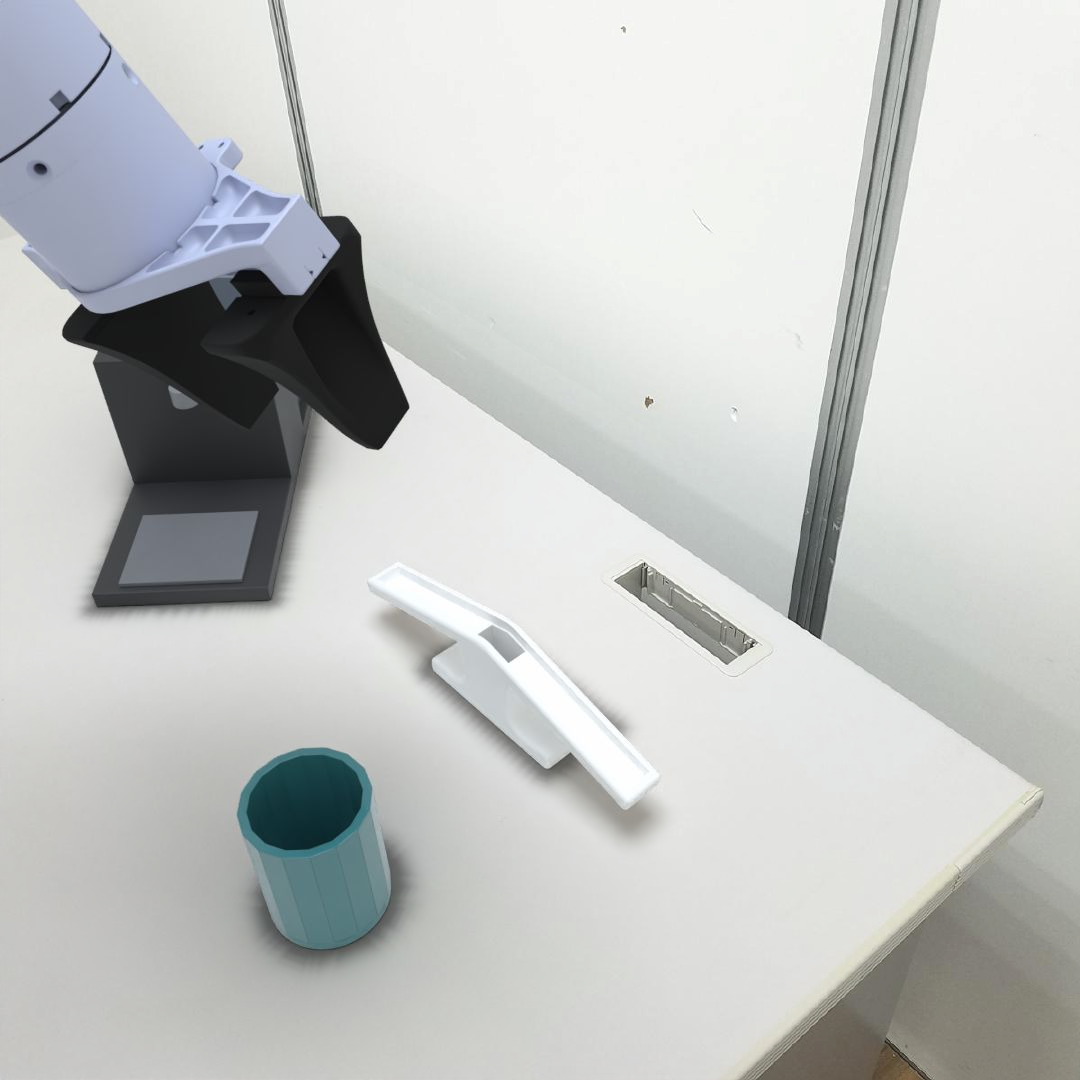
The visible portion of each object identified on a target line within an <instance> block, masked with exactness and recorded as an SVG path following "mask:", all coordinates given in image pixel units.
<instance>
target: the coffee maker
mask: <svg viewBox="0 0 1080 1080" xmlns="http://www.w3.org/2000/svg"><path fill="white" fill-rule="evenodd" d="M231 279H232V278H215V279H212V280H209V282H210V284H211V286H212V288H213V290H214V292H215V294H216V295H217V297H218V299H219V301H220V302H221V304H222V305H223V307H224V309H225V310H227V308H228V307H229V306H230V304H231V303H232V302H233V301H234V299H235V298H236V297H241V296H242V295H241V294H240V293H239V292H238V291H237V290H236V289H235V288H234V286H233V285H232V284H231V283H230V281H231ZM92 366H93V368H94V371H95V374H96V377H97V380H98V383H99V386H100V388H101V391H102V395H103V398H104V401H105V404H106V407H107V409H108V412H109V415H110V419H111V421H112V424H113V427H114V429H115V433H116V435H117V439H118V441H119V446H120V447H121V450H122V453H123V456H124V460H125V462H126V465H127V468H128V471H129V474H130V477H131V480H132V482H133V485H132V487H131V490H130V493H129V496H128V498H127V501H126V504H125V506H124V509H123V511H122V514H121V516H120V519H119V521H118V524H117V526H116V529H115V532H114V534H113V538H112V540H111V543H110V545H109V548H108V550H107V553H106V556H105V558H104V561H103V564H102V566H101V569H100V571H99V574H98V576H97V580H96V582H95V585H94V587H93V590H92V593H91V597H92V599H93V602H94V605H95V606H96V607H117V606H118V607H119V606H142V605H143V606H144V605H146V606H147V605H170V604H194V603H196V604H197V603H219V602H220V603H221V602H222V603H223V602H244V601H245V602H246V601H270V600H271V599H272V595H273V591H274V585H275V581H276V577H277V572H278V567H279V562H280V558H281V554H282V548H283V544H284V539H285V534H286V531H287V525H288V521H289V515H290V511H291V506H292V503H293V502H292V501H293V496H294V493H295V489H296V485H297V480H298V479H297V478H298V473H299V469H300V464H301V460H302V455H303V450H304V446H305V441H306V436H307V431H308V428H309V427H308V426H309V422H310V418H311V417H310V416H311V412H312V408H311V407H310V406H309V405H308V404H307V403H305V402H304V401H303V400H302V399H300V398H299V397H298V396H296V395H295V394H294V393H292V392H291V391H289V390H288V389H286V388H285V387H283V386H282V385H280V384H279V383H277V382H276V384H277V386H278V388H279V391H278V392H277V394H276V395H275V396H274V398H273V399H272V400H271V402H270V403H269V404H268V406H267V407H266V408H265V410H264V411H263V412H262V414H261V415H260V416H259V418H258V419H257V421H256V422H255V423H254V425H253V426H252V427H251V429H244V428H240V427H237V426H235V425H233V424H231V423H229V422H228V421H226V420H224V419H222V418H221V417H219V416H217V415H215V414H214V413H212V412H211V411H209V410H207V409H206V408H204V407H203V406H201V405H200V404H198V403H196V402H195V401H193V400H192V399H190V398H189V397H187V396H186V395H184V394H182V393H181V392H179V391H178V390H176V389H175V388H173V387H171V386H170V385H168V384H166V383H165V382H163V381H161V380H160V379H158V378H156V377H154V376H152V375H150V374H149V373H147V372H145V371H143V370H141V369H139V368H137V367H135V366H133V365H131V364H128V363H126V362H124V361H122V360H119V359H117V358H114V357H112V356H109V355H107V354H104V353H101V352H99V351H96V354H95V356H94V358H93V360H92Z"/></svg>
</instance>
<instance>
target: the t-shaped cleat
mask: <svg viewBox="0 0 1080 1080" xmlns="http://www.w3.org/2000/svg"><path fill="white" fill-rule="evenodd" d="M366 584H367V587H368V590H369V592H370V593H371V594H373V595H375V596H377V597H378V598H380V599H381V600H383V601H385V602H387V603H388V604H391V605H392V606H394V607H396V608H397V609H400V610H401V611H403V612H405V614H408V615H410V616H411V617H413V618H415V619H417V620H419V621H420V622H422V623H424V624H426V625H428V626H429V627H431V628H433V629H434V630H437V631H438V632H440V633H441V634H444V635H445V636H447V637H449V638H450V639H452V640H454V641H456V642H455V643H454V644H452V645H451V646H449V647H447V648H446V649H445V650H443V651H441V652H440V653H438V654H437V655H435V656H433V657H432V658H431V667H432V670H433V672H434V673H436V674H437V676H439V677H440V678H441V679H442V680H443V681H444V682H445V683H447V684H448V685H449V686H450V687H451V688H453V689H454V690H455V691H456V692H457V693H458V694H459V695H460V696H461V697H462V698H464V699H465V700H466V701H467V702H468V703H470V705H472V706H473V707H474V708H475V709H476V710H478V711H479V713H481V714H482V715H483V716H485V717H486V718H487V719H488V720H489V721H490V722H491V723H492V724H494V725H495V727H497V728H498V729H499V730H500V731H501V732H502V733H504V734H505V735H506V736H507V737H508V738H510V739H511V740H512V741H513V742H514V743H515V744H516V745H517V746H518V747H519V748H521V749H522V750H523V751H524V752H525V753H526V754H528V756H530V757H531V758H532V759H533V760H534V761H536V762H537V763H538V764H539V765H540V766H541V767H542V768H543V769H546V770H549V769H551V768H552V767H553V766H555V765H556V764H558V763H559V762H560V761H561V760H562V759H564V758H565V757H567V756H568V755H570V753H571V755H573V756H574V758H576V760H577V761H578V762H579V763H580V764H581V765H582V766H583V768H584V769H585V770H586V771H587V772H588V773H589V774H590V775H591V776H592V777H593V778H594V780H595V781H596V782H597V783H598V784H599V785H600V786H601V787H602V788H603V789H604V790H605V791H606V792H607V793H608V794H609V796H610V797H611V798H612V799H613V800H614V801H615V802H616V804H618V806H619V807H620V808H622V809H623V810H625V811H626V810H628V809H630V808H631V807H632V806H634V805H635V804H636V803H638V801H640V800H642V798H643V797H645V796H646V795H647V794H649V792H651V791H652V790H653V789H654V788H655V787H657V786H658V785H659V783H660V781H661V778H662V775H661V773H660V772H658V770H657V769H656V768H655V767H654V766H653V765H652V764H651V763H650V762H649V761H648V760H647V758H646V757H644V755H643V754H642V753H640V751H639V750H638V749H637V748H636V747H635V746H634V745H633V744H632V743H631V742H630V741H629V740H628V739H627V738H626V737H625V736H624V734H622V732H620V731H619V729H618V728H617V727H616V726H615V724H613V723H612V722H611V721H610V720H609V719H608V718H607V717H606V715H604V714H603V712H602V711H601V710H600V709H599V708H598V707H597V706H596V705H595V704H594V702H592V701H591V699H590V698H589V697H588V696H587V695H586V694H585V693H583V691H582V690H581V689H580V688H579V687H578V686H577V685H576V684H575V683H574V682H573V681H572V680H571V679H570V677H568V675H567V674H566V673H564V671H563V670H561V668H560V667H559V666H558V665H557V664H556V663H555V662H554V661H553V660H552V659H551V658H550V657H549V656H548V655H547V654H546V652H544V650H543V649H542V648H541V647H540V646H539V645H538V643H536V642H535V641H534V639H532V638H531V637H530V635H528V633H527V632H526V631H525V630H524V629H523V628H521V627H520V626H519V625H518V624H517V623H515V622H514V621H513V620H512V619H510V618H509V617H507V616H505V615H503V614H501V613H500V612H497V611H495V610H494V609H491V608H489V607H488V606H485V605H484V604H482V603H480V602H478V601H476V600H474V599H472V598H470V597H468V596H466V595H464V594H462V593H460V592H459V591H456V590H454V589H453V588H450V587H448V586H446V585H444V584H443V583H441V582H439V581H437V580H435V579H433V578H431V577H429V576H427V575H425V574H423V573H421V572H419V571H417V570H415V569H414V568H412V567H410V566H408V565H406V564H404V563H402V562H400V561H396V562H395V563H393V564H391V565H390V566H388V567H386V568H384V569H383V570H381V571H380V572H378V573H376V574H374V575H373V576H371V577H369V578H368V579H367V581H366Z"/></svg>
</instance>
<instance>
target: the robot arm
mask: <svg viewBox="0 0 1080 1080" xmlns="http://www.w3.org/2000/svg"><path fill="white" fill-rule="evenodd" d="M243 156H244V153H243V151H242V149H241V148H240V147H239V146H238V145H237V143H235V141H234V139H232V138H230V137H221V138H214V139H207V140H204V141H202V142H201V143H199V144H198V145H196V144H195V143H194V142H193V141H192V139H191V138H190V137H189V136H188V134H187V133H186V132H185V131H184V129H182V127H181V126H180V125H179V124H178V122H177V121H176V120H175V119H174V117H173V116H172V115H171V114H170V113H169V112H168V111H167V109H166V108H165V107H164V106H163V104H162V103H161V102H160V101H159V100H158V98H157V97H156V96H155V95H154V93H152V91H151V90H150V89H149V88H148V87H147V85H146V84H145V83H144V82H143V80H142V79H141V78H140V77H139V76H138V74H137V73H136V72H135V71H134V70H133V68H132V67H131V65H130V64H129V63H128V62H127V61H126V60H125V58H123V56H122V55H121V54H120V53H119V52H118V50H117V49H116V48H115V47H114V45H113V44H112V42H110V40H109V39H108V38H107V37H106V36H105V34H104V33H103V31H101V30H100V28H99V27H98V26H97V25H96V24H95V22H94V21H93V20H92V19H91V17H90V16H89V15H88V14H87V12H85V10H84V9H83V8H82V7H81V6H80V4H79V3H78V1H76V0H0V217H1V219H3V220H4V221H5V222H6V223H7V224H8V225H9V226H10V227H11V228H12V229H13V230H14V231H15V232H16V233H17V234H19V236H21V238H22V239H23V240H25V241H26V243H25V245H24V246H23V247H22V248H21V253H22V254H24V255H25V257H27V259H29V260H30V261H31V263H33V264H34V265H35V266H36V267H37V268H38V269H39V270H40V271H41V272H42V273H43V274H44V275H45V276H46V277H48V279H49V280H50V281H51V282H53V283H54V284H55V286H57V288H58V289H60V290H67V291H68V292H69V294H71V295H72V297H74V298H75V300H77V301H78V302H79V303H80V304H79V305H78V306H77V307H76V308H75V310H74V311H73V312H72V314H70V316H69V317H68V318H67V320H66V321H65V322H64V324H63V326H62V330H61V336H62V338H63V339H64V340H65V341H66V342H68V343H71V344H73V345H76V346H79V347H83V348H85V349H89V350H93V351H96V352H98V351H99V352H101V353H104V354H107V355H109V356H112V357H114V358H117V359H119V360H122V361H124V362H126V363H128V364H131V365H133V366H135V367H137V368H139V369H141V370H143V371H145V372H147V373H149V374H150V375H152V376H154V377H156V378H158V379H160V380H161V381H163V382H165V383H166V384H168V385H170V386H171V387H173V388H175V389H176V390H178V391H179V392H181V393H182V394H184V395H186V396H187V397H189V398H190V399H192V400H193V401H195V402H196V403H198V404H200V405H201V406H203V407H204V408H206V409H207V410H209V411H211V412H212V413H214V414H215V415H217V416H219V417H221V418H222V419H224V420H226V421H228V422H229V423H231V424H233V425H235V426H237V427H240V428H244V429H251V427H252V426H253V425H254V423H255V422H256V421H257V419H258V418H259V416H260V415H261V414H262V412H263V411H264V410H265V408H266V407H267V406H268V404H269V403H270V402H271V400H272V399H273V398H274V396H275V395H276V394H277V392H278V391H279V388H278V386H277V384H276V382H277V383H279V384H280V385H282V386H283V387H285V388H286V389H288V390H289V391H291V392H292V393H294V394H295V395H296V396H298V397H299V398H300V399H302V400H303V401H304V402H305V403H307V404H308V405H309V406H310V407H311V409H313V411H314V412H316V413H317V414H318V415H319V416H320V417H322V418H323V419H324V420H325V421H326V422H327V423H329V424H330V425H332V426H333V428H335V429H336V430H337V431H338V432H340V433H341V434H343V436H344V437H347V438H348V439H350V440H351V441H353V442H354V443H356V444H358V445H359V446H361V447H363V448H365V449H368V450H374V451H380V450H381V449H383V447H384V446H385V445H386V443H387V442H388V440H389V439H390V437H391V436H392V434H393V433H394V432H395V431H396V430H397V429H396V428H398V426H399V424H400V423H401V422H402V420H403V418H404V417H405V415H407V412H408V411H409V410H410V404H409V400H408V398H407V396H406V393H405V391H404V389H403V386H402V384H401V381H400V379H399V377H398V375H397V372H396V370H395V368H394V366H393V364H392V362H391V359H390V356H389V354H388V352H387V350H386V348H385V345H384V342H383V340H382V338H381V335H380V332H379V329H378V327H377V323H376V320H375V318H374V314H373V311H372V307H371V303H370V300H369V299H370V298H369V295H368V289H367V284H366V277H365V270H364V261H363V246H362V243H363V242H362V235H361V233H360V232H359V230H358V229H357V227H356V226H355V225H354V223H353V222H352V221H351V220H350V218H349V217H347V216H346V215H325V216H322V215H321V216H319V215H318V214H317V213H316V212H315V210H314V209H313V208H312V207H311V205H310V204H309V203H308V202H307V200H306V199H305V198H304V197H303V195H302V194H301V193H293V194H291V193H289V194H288V193H286V194H284V193H278V192H275V191H272V190H269V189H267V188H265V187H264V186H262V185H260V184H258V183H257V182H255V181H253V180H252V179H250V178H247V177H245V176H243V175H242V174H240V173H239V172H236V171H235V169H236V168H237V166H238V165H239V164H240V163H241V162H242V160H243V158H244V157H243ZM215 278H232V279H231V281H230V283H231V284H232V285H233V286H234V288H235V289H236V290H237V291H238V292H239V293H240V294H241V295H242V296H241V297H236V298H235V299H234V301H233V302H232V303H231V304H230V306H229V307H228V308H227V310H225V309H224V307H223V305H222V304H221V302H220V301H219V299H218V297H217V295H216V294H215V292H214V290H213V288H212V286H211V284H210V282H209V280H212V279H215Z"/></svg>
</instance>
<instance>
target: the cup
mask: <svg viewBox="0 0 1080 1080" xmlns="http://www.w3.org/2000/svg"><path fill="white" fill-rule="evenodd" d="M237 805H238V806H237V810H236V819H237V821H238V822H237V823H238V825H239V829H240V832H241V836H242V838H243V840H244V844H245V846H246V849H247V853H248V855H249V858H250V861H251V863H252V866H253V869H254V872H255V875H256V878H257V881H258V883H259V886H260V890H261V892H262V895H263V898H264V902H265V903H266V906H267V909H268V913H269V915H270V918H271V920H272V922H273V924H274V925H275V927H276V929H277V931H278V932H279V933H280V934H281V935H282V936H283V937H285V939H287V940H288V941H290V942H291V943H293V944H295V945H297V946H300V947H303V948H306V949H312V950H331V949H333V950H334V949H337V948H341V947H344V946H347V945H349V944H351V943H354V942H356V941H357V940H359V939H360V938H362V937H364V936H365V935H367V934H368V933H369V932H370V931H371V930H372V929H373V928H374V927H376V925H377V924H378V923H379V921H380V920H381V919H382V917H383V916H384V914H385V912H386V910H387V908H388V905H389V903H390V899H391V895H392V880H391V879H392V878H391V876H392V875H391V869H390V865H389V860H388V855H387V849H386V846H385V841H384V836H383V832H382V826H381V821H380V815H379V813H378V812H379V811H378V808H377V803H376V798H375V791H374V787H373V785H372V782H371V780H370V778H369V775H368V773H367V770H366V768H365V767H364V766H363V765H362V764H360V763H359V762H358V761H357V760H356V759H354V758H353V757H352V755H350V754H348V753H346V752H342V751H340V750H336V749H333V748H330V747H325V746H322V747H301V748H297V749H294V750H291V751H288V752H286V753H283V754H280V755H277V756H276V757H273V758H272V759H271V760H270V761H268V762H267V763H265V764H264V765H263V766H262V767H260V768H259V769H257V770H256V771H255V772H254V773H253V774H252V775H251V777H250V779H249V780H248V781H247V783H246V784H245V786H244V788H243V789H242V791H241V792H240V796H239V800H238V804H237Z"/></svg>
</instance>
